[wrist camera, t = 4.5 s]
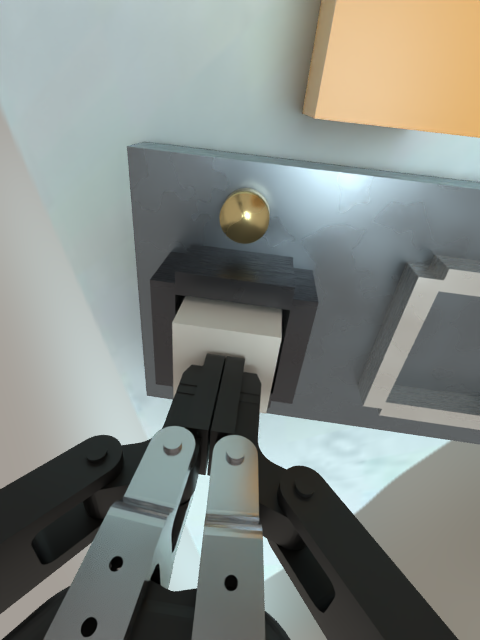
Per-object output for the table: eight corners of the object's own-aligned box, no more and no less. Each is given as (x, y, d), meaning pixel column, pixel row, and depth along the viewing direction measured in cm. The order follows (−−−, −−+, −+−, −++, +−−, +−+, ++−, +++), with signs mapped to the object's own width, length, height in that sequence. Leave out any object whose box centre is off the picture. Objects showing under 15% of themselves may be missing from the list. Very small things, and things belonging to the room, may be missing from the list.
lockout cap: (301, 113, 14) (314, 118, 9) (328, -41, 11) (365, -156, 6) (411, 126, 14) (487, 138, 9) (461, -28, 11) (608, -135, 6)
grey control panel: (156, 374, 23) (128, 435, 18) (144, 141, 15) (91, 155, 11) (486, 421, 22) (535, 496, 18) (650, 203, 14) (804, 244, 10)
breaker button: (193, 343, 18) (173, 399, 14) (195, 275, 15) (171, 322, 12) (268, 354, 18) (266, 413, 14) (281, 287, 15) (281, 338, 12)
